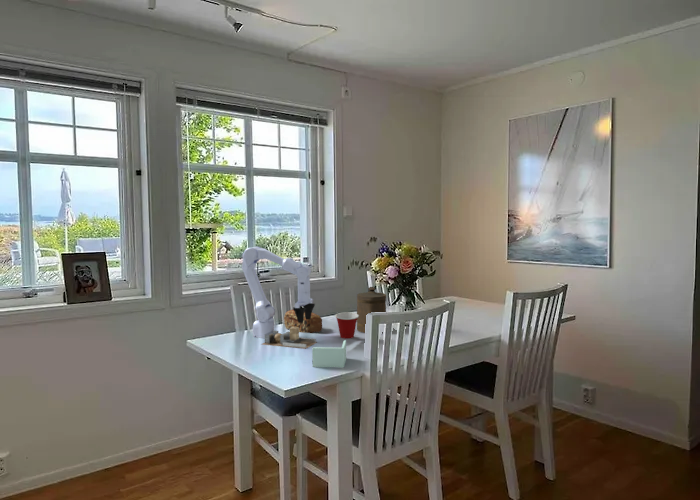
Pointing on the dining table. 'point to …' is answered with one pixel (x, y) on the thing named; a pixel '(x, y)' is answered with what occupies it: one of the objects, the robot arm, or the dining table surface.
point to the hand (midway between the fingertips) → (304, 320)
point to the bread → (308, 324)
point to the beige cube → (291, 336)
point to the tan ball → (277, 337)
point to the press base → (303, 344)
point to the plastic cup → (346, 324)
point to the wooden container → (369, 306)
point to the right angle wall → (329, 356)
